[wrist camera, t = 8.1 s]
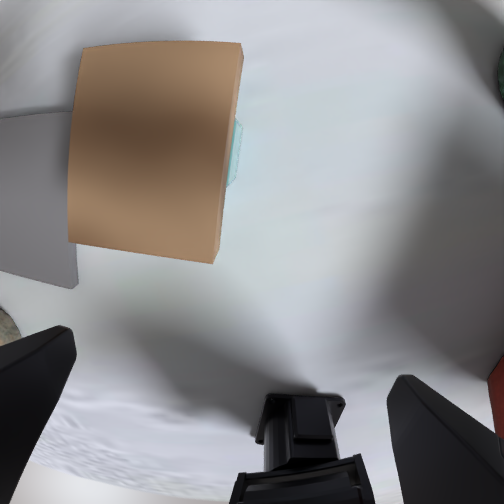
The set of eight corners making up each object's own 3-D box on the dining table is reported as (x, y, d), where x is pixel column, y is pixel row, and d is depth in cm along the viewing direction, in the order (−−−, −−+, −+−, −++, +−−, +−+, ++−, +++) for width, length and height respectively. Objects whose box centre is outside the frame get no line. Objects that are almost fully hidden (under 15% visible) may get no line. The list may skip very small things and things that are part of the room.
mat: (78, 283, 20) (71, 289, 19) (-7, 262, 20) (-14, 266, 19) (80, 112, 16) (72, 111, 16) (-11, 121, 16) (-19, 122, 15)
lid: (219, 248, 15) (212, 264, 13) (88, 230, 15) (68, 242, 13) (243, 57, 12) (240, 43, 10) (103, 57, 12) (83, 48, 10)
